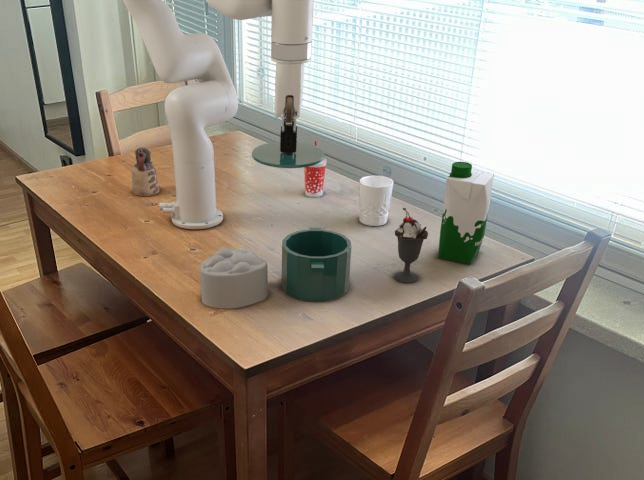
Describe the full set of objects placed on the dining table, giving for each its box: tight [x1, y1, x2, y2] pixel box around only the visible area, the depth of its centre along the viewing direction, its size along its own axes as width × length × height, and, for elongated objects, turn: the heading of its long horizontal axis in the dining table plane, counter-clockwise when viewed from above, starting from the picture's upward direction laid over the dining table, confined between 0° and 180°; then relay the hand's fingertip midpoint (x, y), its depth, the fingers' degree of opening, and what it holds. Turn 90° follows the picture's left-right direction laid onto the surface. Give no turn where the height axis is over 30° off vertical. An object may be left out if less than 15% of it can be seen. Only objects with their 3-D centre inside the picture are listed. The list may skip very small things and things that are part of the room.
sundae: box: [393, 207, 429, 284], centre depth 146 cm, size 7×7×15 cm
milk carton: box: [437, 161, 495, 265], centre depth 153 cm, size 9×9×20 cm
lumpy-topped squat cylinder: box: [199, 247, 269, 310], centre depth 142 cm, size 10×13×9 cm
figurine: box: [131, 146, 160, 197], centre depth 190 cm, size 7×7×12 cm
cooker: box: [281, 226, 352, 303], centre depth 145 cm, size 14×19×10 cm
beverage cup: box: [303, 140, 328, 198], centre depth 187 cm, size 6×6×14 cm
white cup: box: [358, 175, 394, 227], centre depth 172 cm, size 8×8×10 cm
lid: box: [251, 141, 326, 169], centre depth 143 cm, size 15×15×6 cm
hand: (288, 148), depth 144 cm, fingers closed on lid, 2 cm apart
